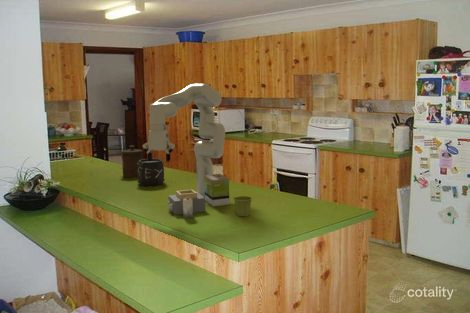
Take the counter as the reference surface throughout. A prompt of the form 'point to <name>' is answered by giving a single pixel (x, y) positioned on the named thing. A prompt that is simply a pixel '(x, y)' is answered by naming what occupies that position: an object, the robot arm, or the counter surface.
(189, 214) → the spout can
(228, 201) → the tea box
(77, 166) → the counter surface
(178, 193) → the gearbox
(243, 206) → the plant pot
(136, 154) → the wooden container
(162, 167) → the black lettered box
